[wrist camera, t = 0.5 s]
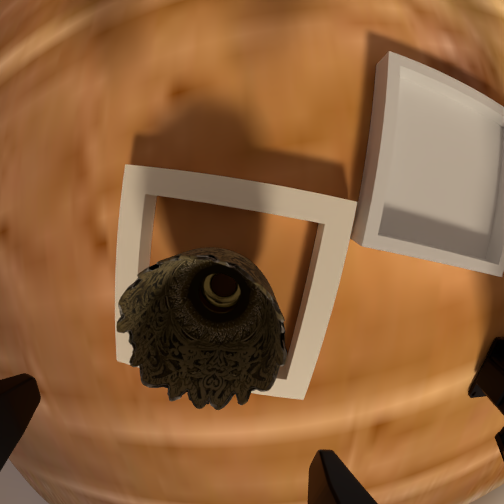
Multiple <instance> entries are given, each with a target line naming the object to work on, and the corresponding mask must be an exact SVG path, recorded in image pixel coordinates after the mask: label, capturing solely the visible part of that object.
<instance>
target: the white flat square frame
mask: <svg viewBox="0 0 504 504" xmlns="http://www.w3.org/2000/svg"><path fill="white" fill-rule="evenodd" d="M157 196H164V197H171V198H178V199H184V200H191V201H197V202H204V203H210V204H216V205H222V206H229V207H234V208H240V209H246V210H252V211H258V212H263V213H269V214H274V215H280V216H285V217H291V218H296V219H301V220H306V221H312V222H317V223H319V224H318V228H317V233H316V238H315V243H314V248H313V252H312V257H311V262H310V266H309V271H308V275H307V279H306V284H305V288H304V292H303V297H302V301H301V305H300V309H299V313H298V317H297V321H296V325H295V329H294V333H293V337H292V341H291V344H290V348H289V352H288V356H287V361H286V363H285V365H284V366H280V368H279V371H278V375H277V378H276V380H275V382H274V385H273V386H272V388H271V389H270V390H269V391H265V392H260V391H258V390H255V391H252V392H251V393H255V394H262V395H269V396H276V397H284V398H293V399H302V400H304V397H305V394H306V391H307V388H308V386H309V383H310V380H311V377H312V374H313V371H314V368H315V365H316V362H317V359H318V355H319V352H320V349H321V346H322V343H323V339H324V336H325V333H326V329H327V326H328V322H329V319H330V315H331V312H332V308H333V305H334V301H335V297H336V294H337V290H338V286H339V282H340V278H341V274H342V270H343V266H344V262H345V258H346V253H347V249H348V245H349V240H350V236H351V231H352V226H353V221H354V217H355V212H356V206H357V202H356V201H351V200H347V199H342V198H338V197H333V196H329V195H324V194H319V193H314V192H309V191H304V190H299V189H294V188H289V187H284V186H278V185H273V184H267V183H262V182H256V181H250V180H244V179H237V178H231V177H225V176H218V175H211V174H204V173H197V172H189V171H181V170H173V169H165V168H156V167H146V166H137V165H126V164H125V171H124V178H123V186H122V194H121V203H120V212H119V223H118V236H117V251H116V274H115V333H116V355H117V361H119V362H123V363H126V364H129V365H130V363H129V361H130V358H131V356H132V351H133V347H132V345H131V344H130V343H129V341H128V340H129V334H128V331H127V332H125V333H119V332H117V327H116V325H117V321H118V319H119V318H120V317H121V316H120V312H119V311H120V310H119V307H118V302H119V300H120V298H121V296H122V295H123V293H124V292H125V290H126V289H127V288H128V287H129V286H130V285H131V284H133V283H134V282H135V281H136V280H137V279H138V276H137V275H138V274H139V273H140V272H142V271H143V270H144V269H146V268H147V267H149V265H150V253H151V242H152V232H153V223H154V214H155V206H156V198H157ZM138 367H139V366H138Z"/></svg>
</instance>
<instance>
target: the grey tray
mask: <svg viewBox="0 0 504 504" xmlns="http://www.w3.org/2000/svg"><path fill="white" fill-rule="evenodd" d="M350 239H352V240H353V241H355V242H356V243H358V244H359V245H361V246H363V247H368V248H373V249H377V250H382V251H387V252H392V253H397V254H401V255H406V256H411V257H415V258H420V259H425V260H429V261H434V262H438V263H443V264H447V265H452V266H456V267H460V268H465V269H469V270H473V271H478V272H482V273H486V274H490V275H495V276H499V277H502V275H503V272H504V107H503V106H502V105H500V104H498V103H497V102H495V101H494V100H492V99H490V98H489V97H487V96H485V95H484V94H482V93H480V92H478V91H477V90H475V89H473V88H471V87H469V86H468V85H466V84H464V83H462V82H460V81H458V80H456V79H454V78H452V77H450V76H448V75H446V74H444V73H442V72H440V71H438V70H435V69H433V68H431V67H429V66H426V65H424V64H422V63H419V62H417V61H414V60H412V59H409V58H407V57H404V56H402V55H399V54H396V53H394V52H391V51H388V52H387V53H386V55H385V56H384V57H383V58H382V59H381V60H380V61H379V62H378V63H377V64H376V74H375V86H374V96H373V106H372V115H371V123H370V131H369V138H368V145H367V152H366V159H365V165H364V171H363V177H362V183H361V189H360V194H359V199H358V205H357V210H356V215H355V220H354V225H353V229H352V234H351V238H350Z"/></svg>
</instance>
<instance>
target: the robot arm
mask: <svg viewBox="0 0 504 504" xmlns="http://www.w3.org/2000/svg"><path fill="white" fill-rule="evenodd" d="M468 395H469V396H470V398H474V397H483V396H487V397H488V398H489V399H490V400H491V402H492V403H493V404H494V405H495V406H496V407H497V408H498V409H499V410H500V412H501V413H502V414H503V415H504V338H501V337H498V338H496V339H495V340H494V342H493V344H492V346H491V348H490V351H489V353H488V355H487V357H486V359H485V361H484V363H483V366H482V368H481V370H480V372H479V374H478V376H477V378H476V379H475V381H474V383H473V385H472V387H471V389H470V391H469V393H468ZM40 399H41V396H40V392H39V389H38V385H37V382H36V379H35V378H34V377H32V376H31V375H29V374H26V373H23V374H20V375H16V376H13V377H9V378H6V379H2V380H0V471H1V469H2V468H3V466H4V464H5V463H6V461H7V459H8V458H9V456H10V454H11V453H12V451H13V450H14V448H15V446H16V445H17V443H18V442H19V440H20V438H21V437H22V435H23V434H24V432H25V430H26V428H27V426H28V424H29V422H30V420H31V418H32V416H33V414H34V412H35V410H36V408H37V406H38V404H39V402H40ZM495 439H496V442H497V445H498V447H499V450H500V453H501V455H502V458H503V461H504V427H503V428H502V429H501V431H500V432H498V433H497V434H496V436H495ZM308 504H378V503H377V502H376V501H375V500H374V499H373V498H372V497H371V495H370V494H369V493H368V492H367V491H366V490H365V488H364V487H363V486H362V485H361V484H360V483H359V481H358V480H357V479H356V478H355V477H354V475H353V474H352V473H351V472H350V471H349V469H348V468H347V467H346V466H345V465H344V463H343V462H342V461H341V460H340V459H339V457H338V456H337V455H336V454H335V452H334V451H332V450H318V451H317V453H316V455H315V457H314V459H313V461H312V463H311V465H310V468H309V483H308Z"/></svg>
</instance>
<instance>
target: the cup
mask: <svg viewBox="0 0 504 504" xmlns="http://www.w3.org/2000/svg"><path fill="white" fill-rule="evenodd" d="M219 273H222V274H226V275H228V276H230V277H232V278H233V279H234V280H235V282H236V289H235V291H234V293H233V294H232V295H230V296H227V297H221V296H218V295H217V294H215V293H214V291H213V290H212V287H211V281H212V279H213V277H214V276H215V275H217V274H219ZM137 276H138V279H137V280H136V281H135V282H134V283H133V284H131V285H130V286H129V287H128V288H127V289H126V290H125V292H124V293H123V295H122V296H121V298H120V300H119V302H118V307H119V310H120V311H119V312H120V316H121V317H120V318H119V319H118V321H117V325H116V327H117V332H119V333H125V332H127V331H128V334H129V340H128V341H129V343H130V344H131V345H132V347H133V351H132V356H131V358H130V361H129V363H130V365H131V366H132V367H138V366H139V368H140V376H141V382H142V384H143V385H145V386H147V387H151V388H158V387H165V388H168V393H167V394H168V396H169V400H170V401H175V400H177V399H180V398H181V396H182V395H183V394H185V393H186V392H188V393H187V394H188V397H189V400H191V401H192V403H193V405H194V406H195V407H196V408H197V409H201V408H203V407H204V406H205V405H206V404H209V402H210V405H211V406H213V407H214V408H215V409H216V410H220V409H222V408H224V407H225V406H226V405H227V404H228V403H229V402H230V400H231V399H232V397H233V395H234V394H236V397H237V400H238V404H240V405H243V404H245V403H246V402H247V401H248V399H249V397H250V394H251V392H252V391H255V390H258V391H260V392H265V391H269V390H270V389H271V388H272V386H273V385H274V382H275V380H276V378H277V375H278V371H279V368H280V366H284V365H285V363H286V361H287V350H286V347H285V341H284V340H285V328H284V322H283V321H285V320H284V317H283V315H282V313H281V311H280V309H279V306H278V303H277V301H276V298H275V296H274V293H273V291H272V288H271V286H270V284H269V283H268V281H267V279H266V278H265V276H264V275H263V273H262V272H261V271H260V270H259V268H258V267H257V266H256V265H255V264H253V263H252V262H251V261H250V260H248V259H247V258H246V257H244V256H242V255H240V254H238V253H236V252H234V251H230V250H227V249H222V248H214V247H211V248H199V249H194V250H190V251H186V252H183V253H180V254H178V255H175V256H172V257H170V258H166V259H164V260H161V261H159V262H157V264H155V265H153V266H150V267H147V268H146V269H144V270H143V271H142V272H140V273H139V274H138V275H137Z"/></svg>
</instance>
